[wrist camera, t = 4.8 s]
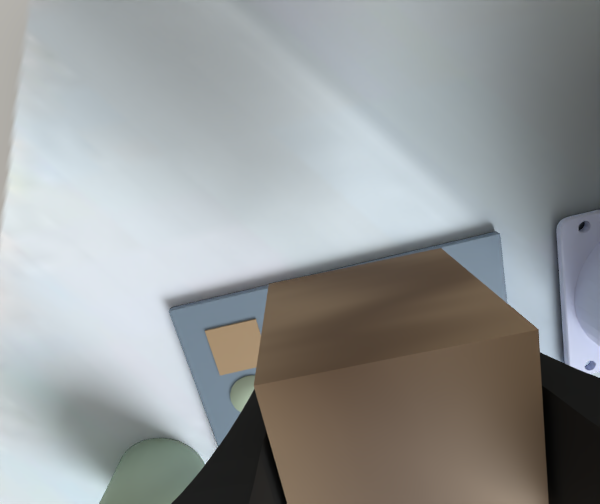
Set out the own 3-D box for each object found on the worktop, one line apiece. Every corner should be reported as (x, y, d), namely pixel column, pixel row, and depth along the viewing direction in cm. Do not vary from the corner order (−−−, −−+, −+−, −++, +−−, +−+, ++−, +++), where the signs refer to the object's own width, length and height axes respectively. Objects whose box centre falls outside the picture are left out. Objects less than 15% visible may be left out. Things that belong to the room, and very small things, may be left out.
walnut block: (440, 247, 12) (538, 329, 7) (459, 396, 14) (551, 546, 9) (268, 283, 12) (253, 385, 8) (304, 426, 14) (311, 587, 9)
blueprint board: (496, 231, 19) (501, 234, 18) (527, 530, 24) (532, 539, 24) (171, 307, 20) (168, 312, 19) (271, 581, 25) (270, 590, 24)
